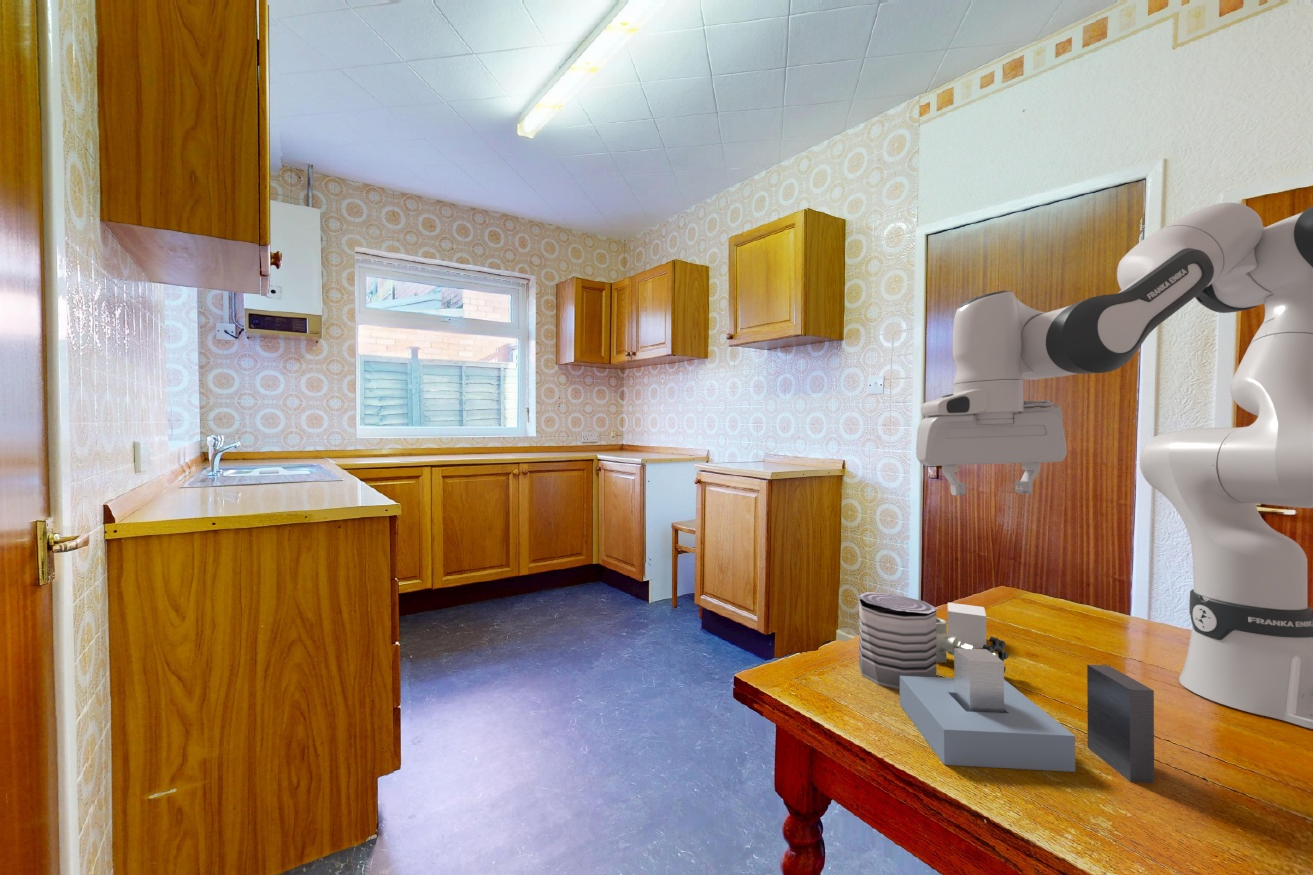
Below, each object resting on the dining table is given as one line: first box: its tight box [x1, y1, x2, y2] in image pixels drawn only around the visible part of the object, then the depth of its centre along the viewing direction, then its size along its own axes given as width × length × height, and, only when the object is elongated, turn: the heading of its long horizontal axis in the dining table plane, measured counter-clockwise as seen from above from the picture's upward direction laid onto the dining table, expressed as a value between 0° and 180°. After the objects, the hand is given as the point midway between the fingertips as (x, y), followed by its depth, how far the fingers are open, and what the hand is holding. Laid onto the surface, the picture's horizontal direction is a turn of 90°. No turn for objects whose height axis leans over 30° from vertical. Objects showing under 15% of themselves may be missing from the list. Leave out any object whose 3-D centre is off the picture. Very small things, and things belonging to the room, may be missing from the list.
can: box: [856, 591, 939, 691], centre depth 85 cm, size 11×11×12 cm
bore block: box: [899, 676, 1076, 773], centre depth 67 cm, size 14×14×4 cm
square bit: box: [953, 648, 1005, 713], centre depth 67 cm, size 4×4×10 cm
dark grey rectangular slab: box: [1086, 664, 1155, 784], centre depth 61 cm, size 2×6×10 cm, turn 175°
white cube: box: [947, 602, 987, 649], centre depth 99 cm, size 6×6×6 cm
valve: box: [936, 617, 1009, 674], centre depth 87 cm, size 7×7×12 cm
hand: (991, 494), depth 80 cm, fingers open, 8 cm apart
